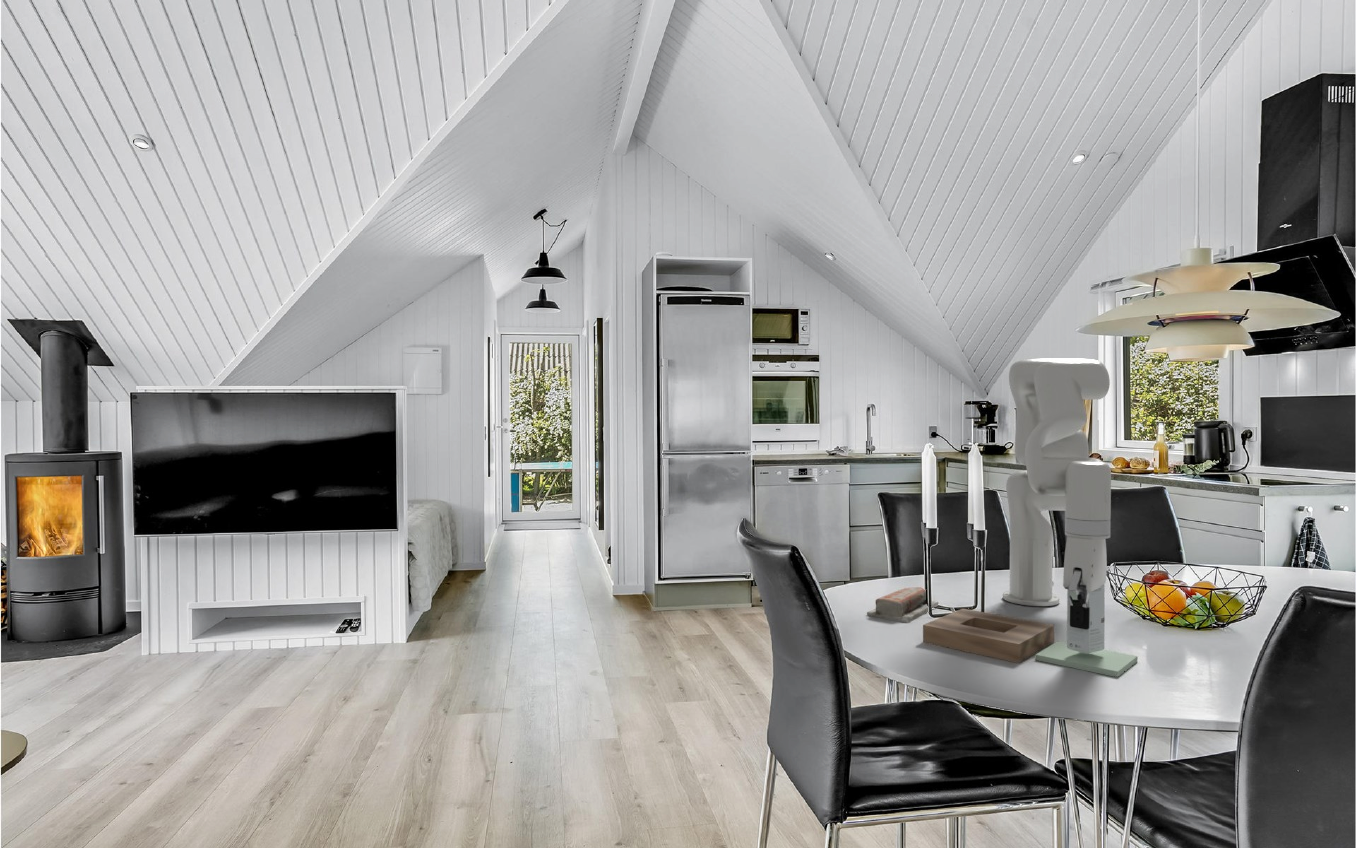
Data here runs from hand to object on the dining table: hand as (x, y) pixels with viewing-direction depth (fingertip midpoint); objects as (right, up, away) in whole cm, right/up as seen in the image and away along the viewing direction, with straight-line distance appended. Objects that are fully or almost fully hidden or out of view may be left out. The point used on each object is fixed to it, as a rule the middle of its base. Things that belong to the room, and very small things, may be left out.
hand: (1086, 623), depth 150 cm
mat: (0, -7, 0) cm, 7 cm away
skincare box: (0, -5, 0) cm, 5 cm away
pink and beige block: (-24, -7, +37) cm, 44 cm away
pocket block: (-14, -7, +12) cm, 19 cm away
